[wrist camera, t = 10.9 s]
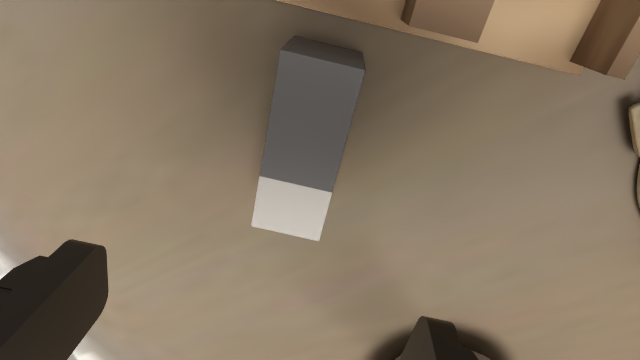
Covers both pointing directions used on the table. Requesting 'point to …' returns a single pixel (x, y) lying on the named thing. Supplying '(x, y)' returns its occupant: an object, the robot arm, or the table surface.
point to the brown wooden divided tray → (513, 28)
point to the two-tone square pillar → (306, 135)
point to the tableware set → (635, 137)
